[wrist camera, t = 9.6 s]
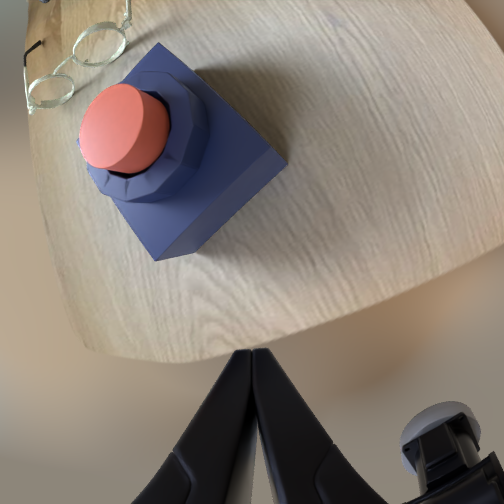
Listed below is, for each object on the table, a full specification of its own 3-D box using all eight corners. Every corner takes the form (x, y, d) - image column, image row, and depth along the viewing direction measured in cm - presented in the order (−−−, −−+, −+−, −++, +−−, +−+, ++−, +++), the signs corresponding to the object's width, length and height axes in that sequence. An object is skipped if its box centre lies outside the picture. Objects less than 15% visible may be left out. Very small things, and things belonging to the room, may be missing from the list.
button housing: (288, 164, 20) (260, 136, 13) (194, 253, 22) (134, 266, 15) (191, 70, 21) (141, 28, 14) (118, 151, 23) (55, 137, 17)
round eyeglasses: (41, 127, 26) (7, 120, 22) (37, 44, 27) (12, 34, 22) (159, 28, 21) (127, 2, 17) (134, -39, 22) (111, -59, 17)
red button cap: (185, 128, 14) (160, 115, 12) (131, 190, 16) (101, 187, 13) (143, 83, 15) (118, 68, 13) (97, 140, 16) (69, 133, 14)
